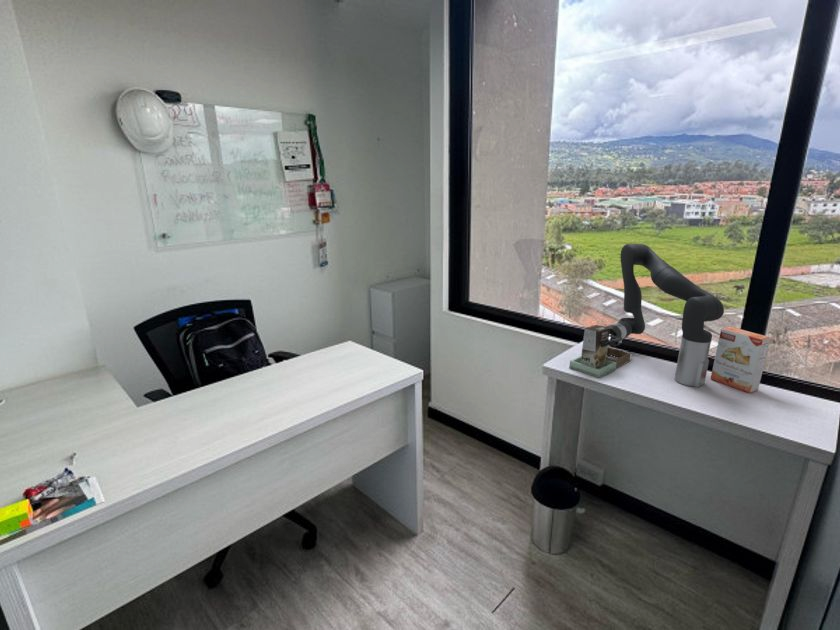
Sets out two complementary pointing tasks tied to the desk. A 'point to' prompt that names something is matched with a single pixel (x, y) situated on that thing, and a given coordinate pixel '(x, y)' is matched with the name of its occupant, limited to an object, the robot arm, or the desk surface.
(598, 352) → the coffee box
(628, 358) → the brown tray
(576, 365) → the sage tray
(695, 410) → the desk surface
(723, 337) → the cracker box
